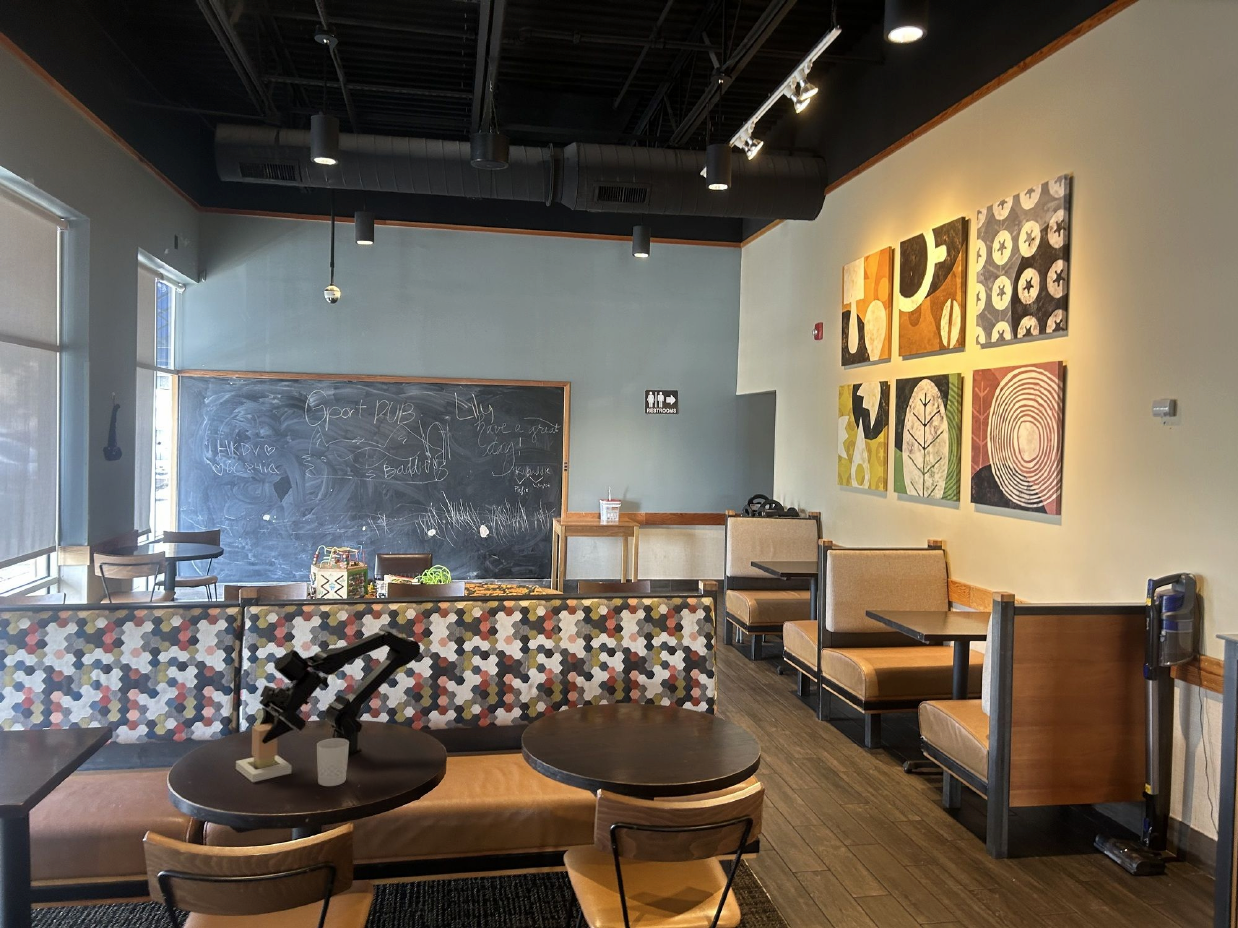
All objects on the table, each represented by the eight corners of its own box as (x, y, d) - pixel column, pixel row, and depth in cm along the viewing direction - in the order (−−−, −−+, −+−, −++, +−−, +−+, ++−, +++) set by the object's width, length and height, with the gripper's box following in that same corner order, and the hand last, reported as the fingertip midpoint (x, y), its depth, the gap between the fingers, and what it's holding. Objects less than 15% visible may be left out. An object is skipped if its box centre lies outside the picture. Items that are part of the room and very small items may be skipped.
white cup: (320, 775, 223) (321, 737, 223) (351, 775, 224) (352, 737, 224) (312, 787, 215) (313, 748, 215) (343, 787, 216) (344, 748, 216)
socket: (273, 759, 233) (273, 752, 233) (291, 772, 224) (291, 765, 224) (235, 768, 226) (236, 761, 226) (252, 782, 217) (252, 774, 217)
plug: (269, 759, 229) (270, 722, 228) (276, 764, 225) (277, 727, 225) (251, 763, 225) (252, 726, 225) (258, 768, 222) (259, 731, 222)
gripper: (267, 666, 234) (224, 714, 227) (294, 681, 221) (250, 732, 213) (294, 689, 240) (254, 737, 232) (323, 705, 226) (281, 756, 219)
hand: (259, 740), depth 224 cm, fingers closed on plug, 5 cm apart
